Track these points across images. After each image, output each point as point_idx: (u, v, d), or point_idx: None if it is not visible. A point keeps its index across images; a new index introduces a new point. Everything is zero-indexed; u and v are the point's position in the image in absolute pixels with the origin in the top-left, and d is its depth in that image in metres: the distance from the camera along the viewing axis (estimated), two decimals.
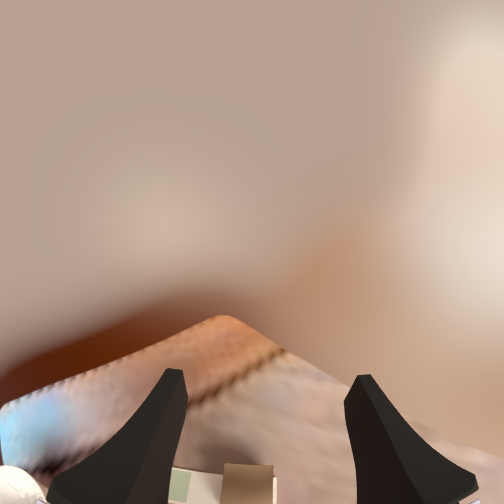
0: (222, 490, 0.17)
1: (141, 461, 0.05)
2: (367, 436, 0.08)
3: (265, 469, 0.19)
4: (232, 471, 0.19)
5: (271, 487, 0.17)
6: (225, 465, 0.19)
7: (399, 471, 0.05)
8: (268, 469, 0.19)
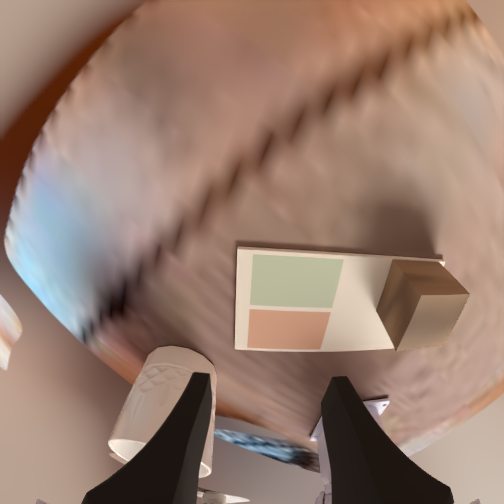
0: (405, 336, 0.15)
1: (179, 469, 0.05)
2: (340, 440, 0.08)
3: (460, 300, 0.14)
4: (426, 307, 0.14)
5: (453, 323, 0.15)
6: (421, 299, 0.14)
7: (367, 479, 0.05)
8: (463, 300, 0.14)
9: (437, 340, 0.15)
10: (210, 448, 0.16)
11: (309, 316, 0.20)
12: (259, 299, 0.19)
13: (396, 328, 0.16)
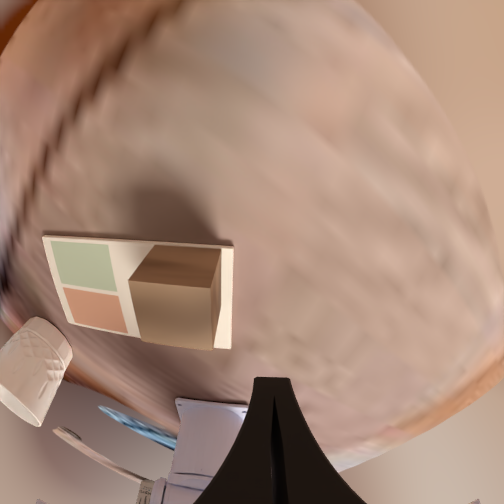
0: (138, 325, 0.15)
1: (269, 477, 0.05)
2: (275, 444, 0.08)
3: (196, 295, 0.14)
4: (143, 296, 0.14)
5: (209, 324, 0.15)
6: (130, 284, 0.14)
7: (285, 490, 0.05)
8: (201, 295, 0.14)
9: (194, 341, 0.15)
10: (36, 397, 0.16)
11: (104, 298, 0.20)
12: (65, 278, 0.19)
13: None
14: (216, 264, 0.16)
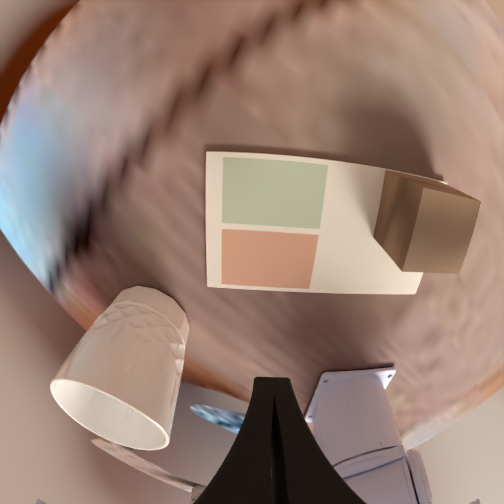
0: (410, 248, 0.12)
1: (269, 477, 0.05)
2: (275, 444, 0.08)
3: (471, 208, 0.11)
4: (431, 207, 0.11)
5: (467, 242, 0.12)
6: (423, 193, 0.11)
7: (285, 490, 0.05)
8: (474, 208, 0.11)
9: (451, 264, 0.12)
10: (168, 405, 0.13)
11: (292, 241, 0.17)
12: (232, 215, 0.16)
13: (399, 243, 0.13)
14: (456, 189, 0.13)
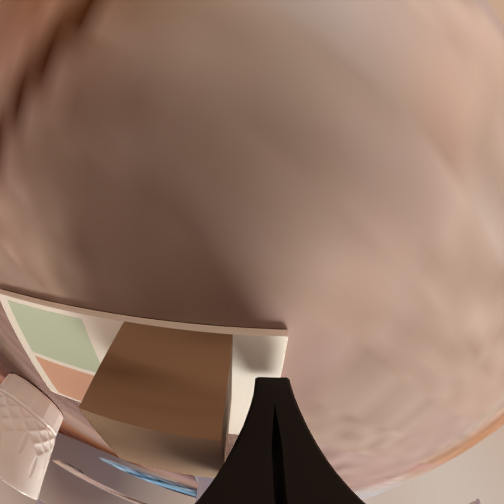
0: (112, 448, 0.07)
1: (270, 477, 0.05)
2: (274, 444, 0.08)
3: (196, 443, 0.06)
4: (108, 428, 0.06)
5: (219, 464, 0.07)
6: (84, 412, 0.06)
7: (284, 490, 0.05)
8: (205, 445, 0.06)
9: (197, 472, 0.08)
10: (27, 477, 0.09)
11: (89, 378, 0.13)
12: (35, 347, 0.12)
13: None
14: (226, 375, 0.08)
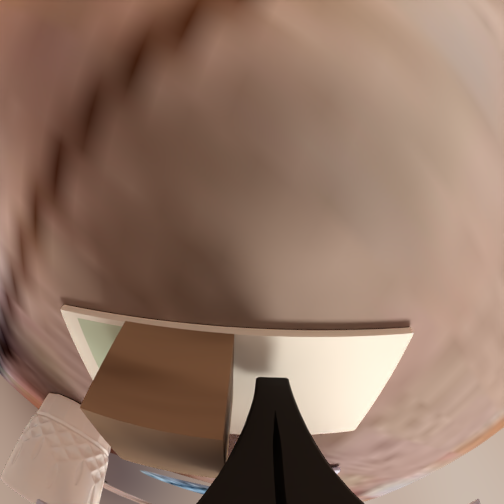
0: (113, 448, 0.07)
1: (271, 477, 0.05)
2: (273, 444, 0.08)
3: (197, 443, 0.06)
4: (109, 428, 0.06)
5: (220, 463, 0.07)
6: (85, 412, 0.06)
7: (283, 490, 0.05)
8: (207, 444, 0.06)
9: (198, 472, 0.08)
10: None
11: None
12: None
13: None
14: (228, 374, 0.08)
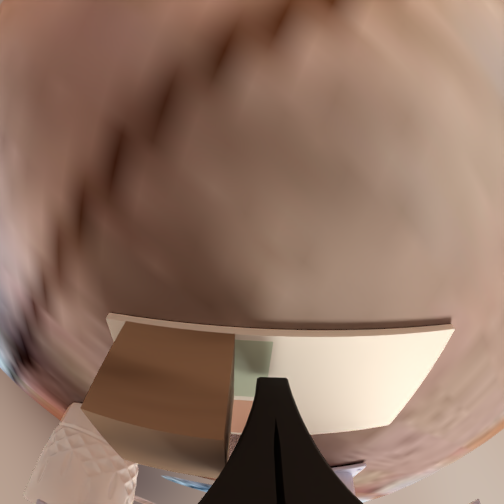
0: (113, 448, 0.07)
1: (273, 477, 0.05)
2: None
3: (198, 443, 0.06)
4: (110, 429, 0.06)
5: (221, 464, 0.07)
6: (86, 413, 0.06)
7: (282, 490, 0.05)
8: (208, 444, 0.06)
9: (199, 472, 0.08)
10: None
11: None
12: None
13: None
14: (229, 374, 0.08)
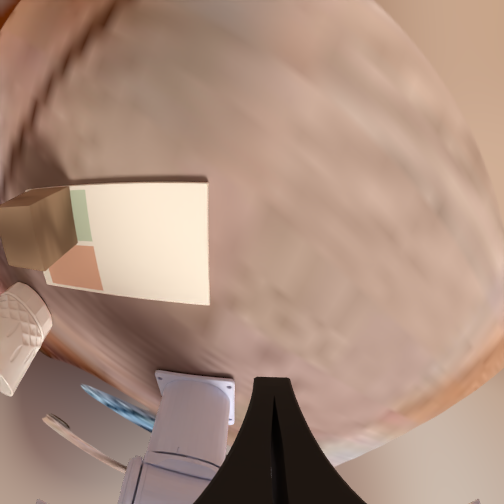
0: (4, 248, 0.13)
1: (269, 477, 0.05)
2: (275, 443, 0.08)
3: (24, 213, 0.12)
4: (2, 220, 0.12)
5: (36, 242, 0.13)
6: None
7: (285, 490, 0.05)
8: (26, 213, 0.12)
9: (33, 262, 0.14)
10: (8, 360, 0.14)
11: (80, 251, 0.19)
12: None
13: None
14: (52, 194, 0.14)
